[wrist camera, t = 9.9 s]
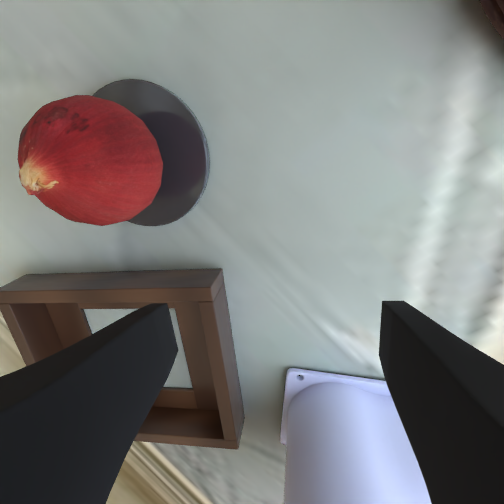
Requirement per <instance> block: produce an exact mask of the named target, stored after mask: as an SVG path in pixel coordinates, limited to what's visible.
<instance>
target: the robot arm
mask: <svg viewBox="0 0 504 504" xmlns="http://www.w3.org/2000/svg"><path fill="white" fill-rule="evenodd" d="M177 352H178V347H177V342H176V338H175V334H174V330H173V325H172V321H171V317H170V312H169V308H168V304H167V303H151V304H148V305H146V306H144V307H142V308H140V309H138V310H136V311H134V312H132V313H130V314H128V315H126V316H125V317H123V318H121V319H119V320H117V321H116V322H114V323H112V324H110V325H108V326H107V327H105V328H103V329H101V330H99V331H98V332H96V333H94V334H92V335H90V336H88V337H86V338H84V339H82V340H80V341H79V342H77V343H75V344H73V345H71V346H69V347H67V348H65V349H63V350H61V351H59V352H57V353H55V354H53V355H51V356H49V357H46V358H44V359H42V360H40V361H38V362H35V363H33V364H31V365H29V366H26V367H24V368H22V369H19V370H17V371H15V372H12V373H10V374H7V375H4V376H2V377H0V504H106V501H107V499H108V496H109V494H110V491H111V489H112V487H113V484H114V482H115V480H116V477H117V475H118V473H119V471H120V468H121V466H122V464H123V461H124V459H125V457H126V455H127V453H128V451H129V449H130V447H131V445H132V443H133V441H134V439H135V437H136V435H137V433H138V431H139V430H140V428H141V426H142V424H143V422H144V420H145V419H146V417H147V415H148V413H149V411H150V409H151V408H152V406H153V404H154V402H155V400H156V399H157V397H158V395H159V393H160V391H161V389H162V387H163V386H164V384H165V382H166V380H167V378H168V376H169V373H170V371H171V368H172V366H173V363H174V361H175V358H176V355H177ZM379 357H380V361H381V365H382V369H383V373H384V376H385V380H386V381H381V380H374V379H367V378H360V377H353V376H346V375H339V374H332V373H325V372H318V371H311V370H304V369H297V368H290V369H288V370H287V374H286V384H285V393H284V403H283V413H282V423H281V432H280V442H281V443H282V444H283V445H286V466H285V488H284V504H504V365H503V364H501V363H500V362H498V361H496V360H495V359H493V358H491V357H490V356H488V355H486V354H484V353H483V352H481V351H479V350H478V349H476V348H474V347H473V346H471V345H470V344H468V343H466V342H465V341H463V340H462V339H460V338H459V337H457V336H456V335H454V334H452V333H451V332H449V331H448V330H446V329H445V328H443V327H442V326H440V325H439V324H437V323H436V322H435V321H433V320H432V319H430V318H429V317H427V316H426V315H424V314H423V313H421V312H420V311H418V310H417V309H416V308H414V307H412V306H411V305H409V304H408V303H406V302H404V301H382V313H381V329H380V345H379ZM298 375H302V376H298Z"/></svg>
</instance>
